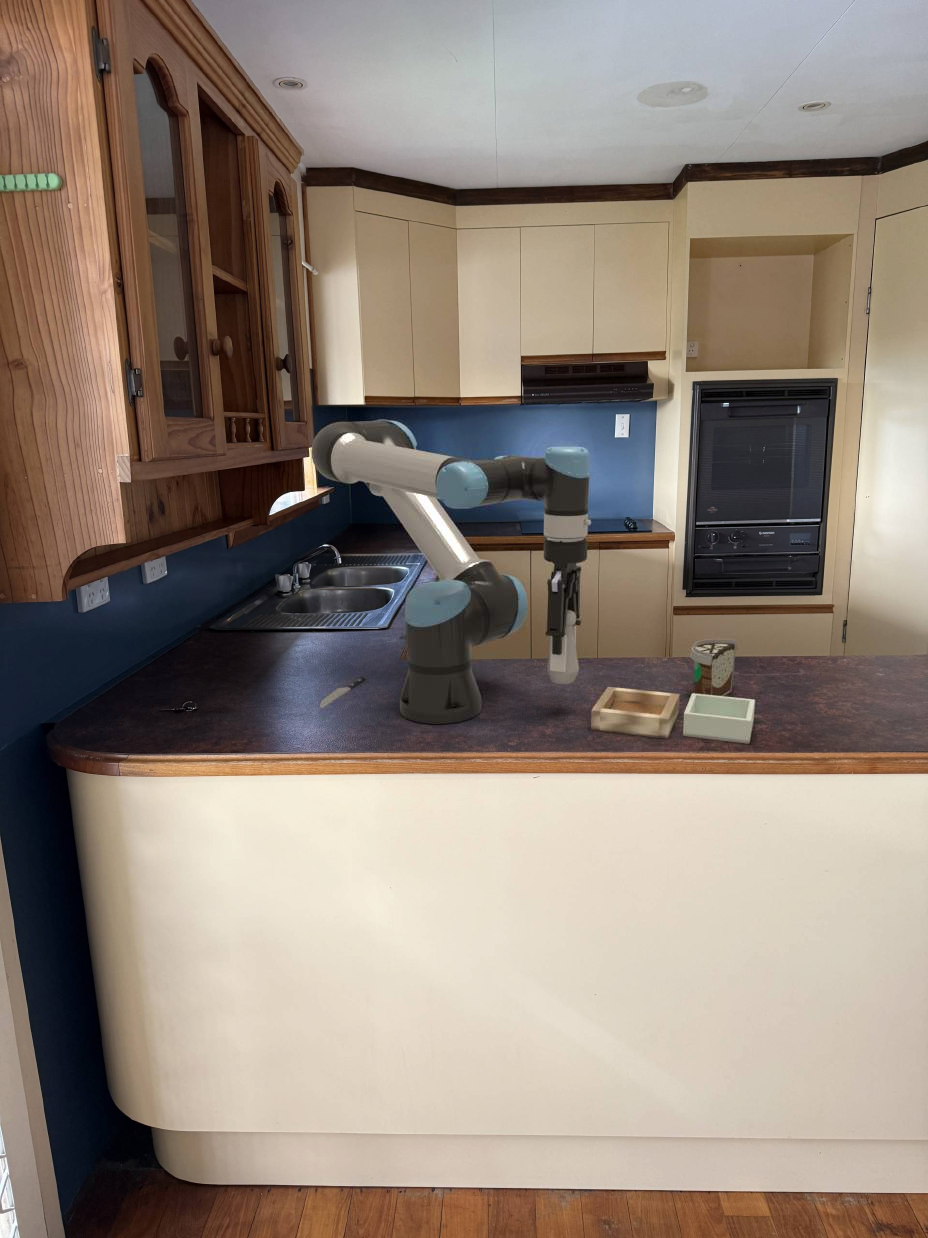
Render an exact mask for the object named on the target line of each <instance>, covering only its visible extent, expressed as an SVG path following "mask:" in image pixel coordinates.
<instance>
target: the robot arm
mask: <svg viewBox="0 0 928 1238" xmlns="http://www.w3.org/2000/svg"><path fill="white" fill-rule="evenodd" d="M417 446H418V443H417V440H416V438H415V436H414V434H413V433H412V431H411V430H410V429H409V428H408V427H407V426H406V425H404V424H403V423H401V422H399V421H396V420H388V419H376V420H375V419H374V420H372V421H371V420H370V421H369V420H366V421H362V420H361V421H337V422H333V423H330V424H328V425H326V426H325V427H323V428H322V429H320V431H319V432H318V433H317V434H316V436H315V437H314V439H313V441H312V445H311V449H310V451H311V454H310V455H311V459H312V460H311V461H312V462H313V465H314V467H315V468H316V470H317V471H318V472H319V474H321V475H322V476H323V477H325V478H326V479H329V480H331V481H334V482H335V481H336V482H340V483H344V484H355V483H357V482H363V483H364V484H365V485H366V486H367V488H368V489H369V491H370V492H371V495H372V494H373V495H375V496H378V497H383V498H384V500H385V501H386V503H387V504H388V506H389V507H390V509H391V510H392V511H393V513H394V515H395V516H396V517H397V520H399V521H400V523H401V524H402V526H403V528H404V529H405V530H406V532H407V533H408V535H409V536H410V538H411V539H412V540H413V542H414V543H415V545H416V546H417V548H418V550H420V552H421V553H422V555H423V556H424V559H426V561H427V562H428V563H429V565H430V567H431V568H432V569H433V571H434V572H435V574H436V575H437V576H438V578H439V580H438V581H430V582H429V581H428V582H426V583H422V584H420V585H418V586H416V587H413V589H411V590H410V591H409V592H408V593H407V595H406V597H405V610H404V620H405V635H406V638H405V639H406V653H407V673H406V677H405V681H404V684H403V687H402V691H401V693H400V694H401V695H400V697H399V711H400V715H401V716H403V717H404V718H405V719H408V720H409V721H412V722H417V723H421V724H428V725H429V724H430V725H432V724H433V725H444V724H452V723H453V724H454V723H461V722H464V721H467V720H470V719H473V718H474V717H476V716H477V715H479V714H480V713H481V712H482V709H483V708H482V695H481V693H480V690H479V689H480V688H479V687H478V684H477V682H476V681H477V680H476V679H475V676H474V673H473V670H472V669H473V668H472V648H473V647H476V646H479V645H483V644H486V643H488V642H492V641H495V640H498V639H504V638H505V637H508V636H509V635H511V634H513V633H515V632H516V631H518V630H519V629H520V628H521V627H522V625H523V624H524V623H525V620H526V618H527V614H528V605H529V604H528V603H529V602H528V601H529V600H528V596H527V593H526V589H525V587H524V586H523V584H522V583H521V581H520V580H519V579H518V578H516V577H514V576H513V575H509V574H505V573H502V574H500V573H499V570H498V569H497V568H496V567H495V566H494V564H493V562H491V560H489V559H483V558H482V559H481V558H479V556H478V555H477V554H476V552H475V551H474V550H473V548H472V547H471V545H470V544H469V543H468V541H467V539H465V537H464V535H463V534H462V533H461V531H460V530H459V528H458V527H457V526H456V524H455V523H454V522H453V520H452V519H451V518H450V516H449V514H448V513H447V512H446V510H445V509H444V507H443V506H442V505H441V503H440V502H439V501H438V500H440V501H441V502H442V503H443V504H445V505H444V506H446V507H448V508H451V509H456V510H458V509H467V510H468V509H473V508H476V507H483V506H488V505H493V504H494V505H495V504H500V503H505V502H506V503H507V502H513V501H514V502H515V501H521V500H522V501H536V502H537V501H538V502H543V503H544V506H543V507H544V513H543V536H544V537H546V538H545V539H544V540H543V559H544V560H545V561H547V562H548V563H553V571H551V574H550V578H548V579H547V582H546V584H547V618H546V631H545V636H548V637H550V641H549V642H550V643H549V645H550V646H549V647H550V649H549V654H550V671H559V672H565V671H566V646H567V636H566V635H565V628H566V617H567V610H571V611H573V612H574V613H575V615H576V623H575V624H574V625H572V626H573V633H574V639H575V646H576V647H577V626H581V624H582V620H579V619H580V616H581V615H580V614H581V613H580V605H581V604H580V602H581V601H580V598H581V595H580V594H581V592H580V591H581V572H582V566H579V565H577V564H580V563H583V562H585V561H586V560H587V559H588V540H587V539H586V537H587V536H588V531H589V529H588V528H589V527H588V526H591V524H592V520H591V519H589V518H588V517H589V494H590V493H589V492H590V489H589V488H590V479H591V471H590V453H589V450H588V449H587V448H585V447H583V446H551V447H548V448H546V450H545V451H544V452H545V454H544V457H531V456H519V455H516V454H514V455H513V454H512V455H499V456H496V457H495V458H490V459H481V460H471V459H466V458H460V457H456V456H450V455H444V454H440V453H434V452H429V451H428V452H427V451H423V450H418V449H417Z"/></svg>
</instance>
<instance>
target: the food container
mask: <svg viewBox="0 0 928 1238" xmlns="http://www.w3.org/2000/svg"><path fill="white" fill-rule="evenodd" d="M737 648H738V645H737V639H731V638H729V639H728V638H709V639H703V640H698V641H696V642H694V644H693V645H692V647H691V650H690V654H689V657H690V659H691V660H693V677H694V679H693V680H694V681H693V683H694V688H693V689H694V693H695V694H705V695H714V696H724V697H726V695H728V694H729V693H731V692H732V691H733V690H732V689H733V677H734V667H735V661H736V660H735V658H736V651H737V650H738V649H737Z"/></svg>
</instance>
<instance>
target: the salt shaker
mask: <svg viewBox="0 0 928 1238" xmlns="http://www.w3.org/2000/svg"><path fill="white" fill-rule="evenodd" d="M575 623H576V615H575V613H574V612H573V611H571V610H567V617H566V628H565V635H566V636H567V646H566V671H565V672H559V671H550V653H549V655H548V660H547V664H546V670H547V674H548V677H549V679H550V682H553V683H554V684H557V685H568V684H571V683H574V682H575V680H576V678H577V676H578V674H579V671H580V667H579V659H578V654H577V653H578V652H577V645H576V646H575V639H574V633H573V626H572V625H574V624H575ZM574 626H575V625H574Z"/></svg>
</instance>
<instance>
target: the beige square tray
mask: <svg viewBox="0 0 928 1238" xmlns="http://www.w3.org/2000/svg"><path fill="white" fill-rule="evenodd" d="M680 696H681V695H680V693H672V692H664V691H663V692H661V691H652V690H642V689H634V688H633V689H632V688H625V687H624V688H623V687H622V688H621V687H614V686H607V688H606V689H605V690H604V692H603V693H602V695H601V696H600V697H599V699H598V700H597V702H596V703H595V705H594V706H593V707H592V709H591V712H590V713H591V716H590V720H591V721H590V729H591V730H594V731H600V732H601V731H602V732H608V733H617V734H623V735H624V734H625V735H633V736H641V737H650V738H659V739H666V740H668V739H669V736H670V734H671V732H672V730H673V727H674V726H675V722H676V720H677V718H678V715H679V713H680V700H681V699H680ZM615 701H619V702H628V703H637V704H646V705H655V706H664V709H663V712H662V714H661V715H655V714H647V713H638V712H629V711H620V710H612V709H611V707H612V706H613V704H614V703H615Z"/></svg>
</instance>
